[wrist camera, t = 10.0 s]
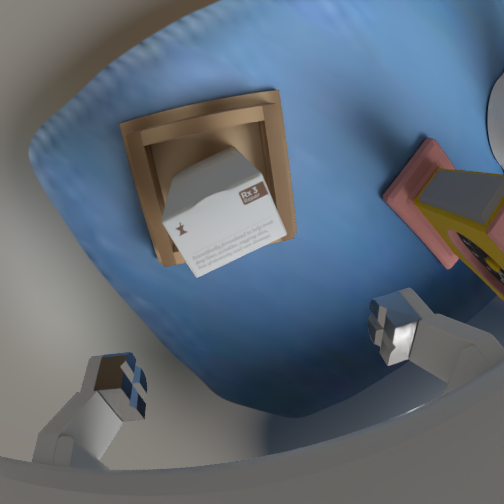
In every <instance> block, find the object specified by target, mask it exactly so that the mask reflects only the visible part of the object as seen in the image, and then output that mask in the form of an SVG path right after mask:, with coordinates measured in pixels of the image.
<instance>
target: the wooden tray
mask: <svg viewBox="0 0 504 504" xmlns="http://www.w3.org/2000/svg"><path fill="white" fill-rule="evenodd" d="M119 125H120V129H121V133H122V138H123V142H124V146H125V150H126V154H127V157H128V161H129V165H130V169H131V173H132V176H133V180H134V183H135V187H136V191H137V194H138V198H139V201H140V204H141V208H142V211H143V214H144V218H145V221H146V224H147V227H148V231H149V234H150V237H151V240H152V243H153V246H154V249H155V252H156V255H157V258H158V261H159V263H163V266H164V267H168V266H172V265H177V264H181V263H186V261H185V260H184V258H183V256H182V255H181V253H180V252H179V250H178V248H177V247H176V245H175V243H174V242H173V240H172V239H171V237H170V235H169V234H168V232H167V230H166V229H165V227H164V226H163V224H162V223H161V219H162V216H163V212H164V207H165V204H166V200H167V197H168V193H169V189H170V185H171V182H172V178H173V175H174V174H175V173H177V172H179V171H181V170H183V169H185V168H187V167H189V166H191V165H193V164H195V163H197V162H199V161H201V160H203V159H205V158H208V157H210V156H212V155H214V154H216V153H218V152H220V151H223V150H225V149H227V148H229V147H231V146H234V147H235V148H236V149H237V150H238V151H239V152H240V153H241V154H242V155H243V156H244V157H245V158H246V159H247V160H248V161H249V162H250V163H251V164H252V165H253V166H254V167H255V168H256V169H257V170H258V171H259V172H261V174H262V175H263V178H264V180H265V182H266V185H267V187H268V189H269V192H270V194H271V197H272V199H273V202H274V204H275V206H276V209H277V211H278V213H279V216H280V218H281V220H282V222H283V225H284V227H285V230H286V232H287V235H286V236H284V237H281V238H279V239H277V240H275V241H273V242H271V243H269V244H272V243H276V242H281V241H286V240H290V239H294V233H297V227H296V218H295V209H294V200H293V191H292V183H291V174H290V166H289V158H288V151H287V143H286V136H285V129H284V121H283V114H282V108H281V101H280V94H279V90H273V91H265V92H258V93H251V94H245V95H239V96H233V97H227V98H221V99H216V100H211V101H206V102H201V103H196V104H192V105H187V106H183V107H178V108H174V109H170V110H166V111H162V112H158V113H154V114H151V115H147V116H143V117H140V118H136V119H133V120H129V121H126V122H123V123H120V124H119Z"/></svg>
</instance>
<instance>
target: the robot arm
mask: <svg viewBox="0 0 504 504" xmlns="http://www.w3.org/2000/svg"><path fill="white" fill-rule="evenodd" d="M488 135H489V141H490V145H491V149H492V152H493V154H494V156H495V158H496V160H497V161H498V163H499V164H500V165H501V167H502V168H503V170H504V73H503V74H502V76H501V77H500V78H499V79H498V80H497V82H496V83H495V85H494V87H493V89H492V92H491V96H490V100H489V106H488ZM369 309H370V310H371V312H372V314H371V316H370V317H369V319H368V329H369V334H370V336H371V339H372V341H373V342H374V344H376V345H378V346H380V347H381V348H380V354H381V356H382V357H383V359H384V361H385V362H386V364H387V366H389V365H392V364H395V363H398V362H401V361H404V360H406V359H409V360H410V361H412V362H413V363H415V364H417V365H418V366H420V367H422V368H423V369H425V370H427V371H428V372H430V373H432V374H433V375H435V376H437V377H438V378H440V379H442V380H443V381H445V382H447V383H448V384H447V386H446V388H445V390H444V392H443V395H442V396H441V397H439V398H437V399H434V400H432V401H430V402H428V403H426V404H424V405H422V406H419V407H417V408H415V409H413V410H411V411H408V412H406V413H404V414H401V415H399V416H396V417H394V418H392V419H389V420H386V421H384V422H381V423H378V424H376V425H373V426H370V427H368V428H365V429H362V430H359V431H356V432H353V433H350V434H347V435H344V436H341V437H338V438H334V439H331V440H328V441H325V442H321V443H317V444H314V445H310V446H306V447H302V448H299V449H295V450H290V451H286V452H282V453H277V454H273V455H268V456H263V457H258V458H252V459H247V460H241V461H235V462H228V463H221V464H214V465H205V466H197V467H186V468H173V469H153V470H110V469H109V468H108V467H107V466H105V465H104V464H103V463H102V462H100V461H99V460H100V458H101V457H102V455H103V454H104V452H105V450H106V449H107V447H108V446H109V444H110V443H111V441H112V439H113V438H114V436H115V435H116V433H117V432H118V430H119V428H120V427H121V425H122V424H123V422H124V421H135V420H144V419H145V407H146V404H145V402H144V401H143V397H144V396H145V395H146V394H147V382H146V377H145V375H144V372H143V370H142V369H141V368H140V367H138V366H137V365H135V363H136V359H135V357H134V356H133V354H132V353H130V352H126V353H117V354H108V355H102V356H92V357H91V358H90V359H89V362H88V365H87V369H86V373H85V376H84V380H83V384H82V387H81V391H80V392H77V393H76V394H75V395H74V396H73V397H72V398H71V399H70V400H69V401H68V402H67V403H66V404H65V406H64V407H63V408H62V409H61V410H60V411H59V412H58V413H57V414H56V415H55V416H54V417H53V419H52V420H51V421H50V422H49V423H48V424H47V425H46V426H45V427H44V428H43V429H42V430H41V431H40V433H39V434H38V438H37V442H36V446H35V450H34V454H33V459H32V462H26V461H21V460H15V459H10V458H6V457H1V456H0V504H504V348H503V347H502V346H501V344H500V343H499V342H498V341H497V340H496V339H495V337H494V336H493V335H492V334H490V333H487V332H485V331H482V330H479V329H477V328H474V327H472V326H469V325H467V324H464V323H461V322H459V321H456V320H454V319H451V318H448V317H446V316H443V315H440V314H434V313H433V312H432V311H431V310H430V309H429V308H428V306H427V305H426V304H425V303H424V302H423V301H422V300H421V299H420V297H419V296H418V295H417V294H416V293H415V292H414V291H413V290H412V289H411V288H406V289H403V290H400V291H397V292H395V293H391V294H388V295H385V296H382V297H378V298H375V299H372V300H371V302H370V308H369Z"/></svg>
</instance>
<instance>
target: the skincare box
mask: <svg viewBox="0 0 504 504" xmlns="http://www.w3.org/2000/svg"><path fill="white" fill-rule="evenodd" d="M161 223H162V224H163V226H164V227H165V229H166V230H167V232H168V234H169V235H170V237H171V239H172V240H173V242H174V243H175V245H176V247H177V248H178V250H179V252H180V253H181V255H182V256H183V258H184V260H185V261H186V263H187V264H188V266H189V268H190V269H191V271H192V272H193V274H194V276H195V277H197V278H198V277H200V276H202V275H204V274H206V273H208V272H210V271H212V270H214V269H216V268H219V267H221V266H223V265H225V264H227V263H229V262H231V261H233V260H235V259H237V258H239V257H241V256H244V255H246V254H248V253H250V252H252V251H254V250H256V249H258V248H260V247H262V246H265V245H267V244H269V243H271V242H273V241H275V240H277V239H279V238H281V237H284V236H286V235H287V232H286V230H285V227H284V225H283V222H282V220H281V218H280V216H279V213H278V211H277V209H276V206H275V204H274V202H273V199H272V197H271V194H270V192H269V189H268V187H267V185H266V182H265V180H264V178H263V175H262V174H261V172H259V171H258V170H257V169H256V168H255V167H254V166H253V165H252V164H251V163H250V162H249V161H248V160H247V159H246V158H245V157H244V156H243V155H242V154H241V153H240V152H239V151H238V150H237V149H236V148H235V147H234V146H231V147H229V148H227V149H225V150H223V151H220V152H218V153H216V154H214V155H212V156H210V157H208V158H205V159H203V160H201V161H199V162H197V163H195V164H193V165H191V166H189V167H187V168H185V169H183V170H181V171H179V172H177V173H175V174H174V175H173V178H172V182H171V185H170V189H169V193H168V197H167V200H166V204H165V207H164V212H163V216H162V219H161Z"/></svg>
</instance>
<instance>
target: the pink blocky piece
mask: <svg viewBox="0 0 504 504" xmlns="http://www.w3.org/2000/svg"><path fill="white" fill-rule="evenodd" d="M383 200H384V201H385V202H386V203H387V204H388V205H389V206H390V207H391V208H392V210H393V211H394V212H395V213H396V214H397V215H398V216H399V217H400V218H401V219H402V220H403V221H404V222H405V223H406V224H407V225H408V226H409V227H410V228H411V230H412V231H413V232H414V233H415V234H416V235H417V236H418V237H419V238H420V239H421V241H422V242H423V243H424V244H425V245H426V246H427V247H428V248H429V250H430V251H431V252H432V253H433V254H434V255H435V256H436V258H437V259H438V260H439V261H440V262H441V263H442V265H443V266H444V267H445V268H447V269H450V268H451V267H452V266H453V265H454V264H455V263H456V261H457V260H458V259H459V258H460V259H461V260H462V261H463V262H464V263H465V264H466V265H467V266H468V267H469V268H470V269H472V270H473V271H474V272H475V273H476V274H477V275H478V276H479V277H480V278H481V279H482V280H483V281H484V282H485V283H486V284H487V285H488V286H489V287H490V288H491V289H492V290H493V291H494V292H495V293H496V294H497V295H498V296H499V297H500V298H501V299H502V300H503V301H504V175H501V174H492V173H482V172H473V171H463V170H456V169H455V167H454V166H453V164H452V163H451V161H450V160H449V158H448V157H447V155H446V154H445V152H444V151H443V150H442V148H441V147H440V145H439V144H438V143H437V141H436V140H435V139H431V138H426V139H425V141H424V142H423V143H422V145H421V146H420V147H419V149H418V150H417V151H416V153H415V154H414V155H413V157H412V158H411V159H410V161H409V162H408V163H407V165H406V166H405V167H404V169H403V170H402V171H401V172H400V174H399V175H398V176H397V178H396V179H395V180H394V181H393V183H392V184H391V185H390V187H389V188H388V189H387V190H386V192H385V193H384V194H383Z"/></svg>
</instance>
